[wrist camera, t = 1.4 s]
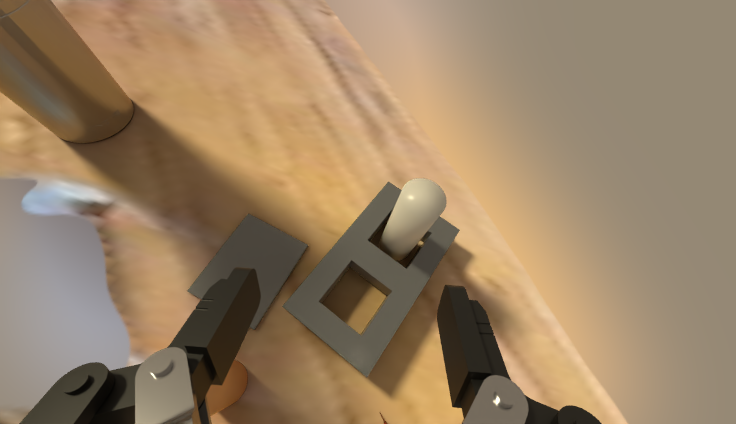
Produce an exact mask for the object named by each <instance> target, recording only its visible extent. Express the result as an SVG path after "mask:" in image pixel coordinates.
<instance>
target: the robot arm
mask: <svg viewBox="0 0 736 424" xmlns="http://www.w3.org/2000/svg"><path fill="white" fill-rule="evenodd" d="M0 92H1V93H3V94H4V95H5V96H7V97H8V98H9V99H10V100H12V101H13V102H14V103H16V104H17V105H18V106H20V107H21V108H22V109H23V110H25V111H26V112H27V113H28V114H30V115H31V116H32V117H34V118H35V119H36V120H37V121H39V122H40V123H41V124H43V125H44V126H45V127H46V128H48V129H49V130H50V131H52V132H53V133H54V134H55V135H57V136H58V137H60V138H62V139H64V140H66V141H70V142H75V143H89V142H95V141H100V140H103V139H105V138H108V137H110V136H112V135H114V134H116V133H118V132H119V131H120V130H122V129H123V128H124V127H125V126H126V125H127V124H128V123H129V121H130V120H131V118H132V115H133V112H134V106H133V103H132V101H131V100H130V98H129V97H128V96H127V95H126V93H125V92H124V91H123V90H122V88H121V87H120V86H119V85H118V83H117V82H116V81H115V80H114V78H113V77H112V76H111V74H110V73H109V72H108V71H107V70H106V68H105V67H104V66H103V65H102V63H101V62H100V61H99V60H98V58H97V57H96V56H95V55H94V53H93V52H92V51H91V50H90V48H89V47H88V46H87V45H86V44H85V42H84V41H83V40H82V39H81V37H80V36H79V35H78V34H77V32H76V31H75V30H74V29H73V27H72V26H71V25H70V24H69V22H68V21H67V20H66V19H65V18H64V16H63V15H62V14H61V13H60V11H59V10H58V9H57V8H56V6H55V5H54V4H53V3H52V1H51V0H0ZM260 299H261V292H260V287H259V283H258V278H257V273H256V270H255V269H253V268H241V267H236V268H234V269H233V271H232V272H231V274H230V275H229V277H228V278H227V279H220V280H219V281H217V282H216V283H215V284H214V285H212V286H211V287H210V288H209V289H208V291H207V292H206V294H205V295H204V296H203V298H202V301H200V302H199V304H198V305H197V306H196V309H195V310H194V311H193V312H192V314H191V315H190V317H189V318H188V319H187V321H186V322H185V324H184V325H183V327H182V328H181V330H180V331H179V332H178V334H177V335H176V337H175V338H174V340H173V341H172V342H171V344H170V345H169V346H168V347H167V348H165V349H162V350H160V351H158V352H156V353H154V354H152V355H151V356H150V357H148V358H147V359H146V360H145V361H144V362H143V363H142V364H138V365H134V366H129V367H125V368H120V369H116V370H111V371H109V370H108V368H107V367H106V366H105V365H104V364H102V363H97V362H96V363H88V364H85V365H82V366H79V367H77V368H75V369H73V370H71V371H70V372H68V373H67V374H65V375H64V376H63V377H61V378H60V379H59V380H58V381H57V382H56V383H55V384H54V385H53V386H52V387H51V389H50V390H49V391H48V392H47V393H46V394H45V395H44V396H43V398H42V399H41V400H40V401H39V403H38V404H37V405H36V406H35V407H34V408H33V409H32V410H31V411H30V412H29V413H28V415H27V416H26V417H25V418H24V419H23V420H22V421H21V423H20V424H212V422H211V417H210V412H209V407H208V401H207V397H206V394H207V392H208V390H209V388H210V386H211V385H223V383H224V380H225V378H226V376H227V374H228V372H229V370H230V368H231V365H232V363H233V361H234V359H235V357H236V355H237V353H238V350H239V348H240V346H241V344H242V342H243V340H244V338H245V335H246V333H247V331H248V329H249V327H250V325H251V322H252V320H253V318H254V316H255V314H256V312H257V310H258V307H259V304H260ZM437 321H438V328H439V334H440V339H441V345H442V351H443V356H444V362H445V368H446V373H447V379H448V385H449V390H450V396H451V402H452V407H456V408H462V411H463V416H464V420H463V422H462V424H601V423H600V421H599V420H598V419H596V418H595V417H594V416H593V415H592V414H590V413H589V412H587V411H586V410H584V409H582V408H579V407H576V406H565V407H563V408H562V409H560V411H558V410H556V409H553V408H551V407H548V406H546V405H544V404H541V403H539V402H536V401H534V400H532V399H530V398H529V397H527V396H526V395H524V393H523V392H522V390H521V389H520V388H519V387H518V386H517V385H516V384H515V383H514V382H512V381H511V379H510V377H509V375H508V372H507V370H506V367H505V364H504V361H503V358H502V356H501V353H500V350H499V347H498V344H497V342H496V339H495V336H494V335H493V334H494V333H493V330H492V328H491V326H490V322H489V319H488V316H487V314H486V311H485V310H484V309H483V307H482V306H481V305H480V304H479V303H478V301H475V300H469V298H468V295H467V292H466V289H465V287H464V286H452V285H445V287H444V290H443V293H442V297H441V300H440V304H439V307H438V313H437Z"/></svg>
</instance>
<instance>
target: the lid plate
mask: <svg viewBox="0 0 736 424" xmlns="http://www.w3.org/2000/svg"><path fill="white" fill-rule="evenodd" d="M307 247H308V245H307V244H305V243H303V242H301V241H299V240H297V239H296V238H294V237H292V236H290V235H288V234H286V233H284V232H282V231H280V230H279V229H277V228H275V227H273V226H271V225H269V224H267V223H265V222H264V221H262V220H260V219H258V218H256V217H254V216H252V215H250V214H248V215H247V216H246V217H245V218H244V220H243V221H242V222H241V223H240V225H239V226H238V227H237V229H236V230H235V231H234V232H233V234H232V235H231V236H230V237H229V239H228V240H227V241H226V242H225V244H224V245H223V246H222V248H221V249H220V250H219V251H218V253H217V254H216V255H215V256H214V258H213V259H212V260H211V261H210V263H209V264H208V265H207V267H206V268H205V269H204V270H203V272H202V273H201V274H200V275H199V277H198V278H197V279H196V280H195V282H194V283H193V284H192V286H191V287H190V288H189V289H188V292H189V293H191V294H193V295H195V296H196V297H198V298H200V299H202V298H203V296H204V295H205V294H206V292H207V291H208V289H209V288H210V287H211V286H212V285H214V284H215V283H216V282H217V281H219V280H220V279H227V278H228V277H229V275H230V274H231V272H232V271H233V269H234V268H236V267H241V268H253V269H255V270H256V273H257V278H258V283H259V287H260V292H261V299H260V304H259V307H258V310H257V312H256V314H255V316H254V318H253V320H252V322H251V325H250V328H252V329H254V330H255V329H256V327H257V326H258V324H259V323H260V321H261V320H262V318H263V316H264V315H265V313H266V312H267V310H268V309H269V307H270V305H271V304H272V302H273V301H274V299H275V298H276V296H277V294H278V293H279V291H280V290H281V288H282V287H283V285H284V283H285V282H286V280H287V279H288V277H289V276H290V274H291V272H292V271H293V269H294V268H295V266H296V265H297V263H298V262H299V260H300V258H301V257H302V255H303V254H304V252H305V251H306V249H307Z"/></svg>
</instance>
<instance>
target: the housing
mask: <svg viewBox="0 0 736 424" xmlns="http://www.w3.org/2000/svg"><path fill="white" fill-rule="evenodd" d="M445 207H446V196H445V193H444V191H443V190H442V188H441V187H440V186H439V185H438V184H436V183H435V182H433V181H431V180H428V179H425V178H416V179H413V180H410V181H409V182H407V183H406V184H405V185H404V187H403V189H402V190H400V189H399V188H397V187H396V186H394V185H393V184H391V183H390V182H388V183H387V184H386V185H385V186H384V188H383V189H382V190H381V191H380V192H379V193H378V195H377V196H376V197H375V198H374V199H373V200H372V202H371V203H370V204H369V205H368V206H367V208H366V209H365V210H364V211H363V212H362V213H361V215H360V216H359V217H358V218H357V219H356V220H355V222H354V223H353V224H352V225H351V226H350V227H349V229H348V230H347V231H346V232H345V233H344V235H343V236H342V237H341V238H340V239H339V240H338V242H337V243H336V244H335V245H334V246H333V247H332V249H331V250H330V251H329V252H328V253H327V255H326V256H325V257H324V258H323V259H322V260H321V262H320V263H319V264H318V265H317V266H316V267H315V269H314V270H313V271H312V272H311V273H310V274H309V276H308V277H307V278H306V279H305V280H304V282H303V283H302V284H301V285H300V286H299V287H298V289H297V290H296V291H295V292H294V293H293V294H292V296H291V297H290V298H289V299H288V300H287V302H286V303H285V304H284V305H283V307H284V308H285V309H286V310H287V311H288V312H290V313H291V314H292V315H293V316H294V317H296V318H297V319H298V320H299V321H300V322H302V323H303V324H304V325H305V326H306V327H307V328H309V329H310V330H311V331H312V332H313V333H315V334H316V335H317V336H318V337H319V338H321V339H322V340H323V341H324V342H325V343H327V344H328V345H329V346H330V347H331V348H332V349H334V350H335V351H336V352H337V353H338V354H340V355H341V356H342V357H343V358H344V359H346V360H347V361H348V362H349V363H350V364H352V365H353V366H354V367H355V368H356V369H357V370H359V371H360V372H361V373H362V374H363V375H365V376H366V377H368V375H369V374H370V372H371V370H372V369H373V367H374V366H375V364H376V362H377V361H378V359H379V358H380V356H381V355H382V353H383V351H384V350H385V348H386V347H387V345H388V343H389V342H390V340H391V339H392V337H393V335H394V334H395V332H396V331H397V329H398V328H399V326H400V324H401V323H402V321H403V320H404V318H405V316H406V315H407V313H408V312H409V310H410V308H411V307H412V305H413V304H414V302H415V300H416V299H417V297H418V296H419V294H420V293H421V291H422V289H423V288H424V286H425V285H426V283H427V281H428V280H429V278H430V277H431V275H432V273H433V272H434V270H435V269H436V267H437V266H438V264H439V262H440V261H441V259H442V258H443V256H444V254H445V253H446V251H447V250H448V248H449V246H450V245H451V243H452V242H453V240H454V239H455V237H456V235H457V234H458V232H459V231H460V230H459V229H457V228H456V227H454V226H453V225H451V224H450V223H449V222H447V221H446V220H444V219H443V218H441V217H440V215H441V214H442V212H443V211H444V209H445ZM388 218H389V220H388ZM387 220H388V222H387V225H386V227H385V229H384V232H383V234H382V236H381V238H380V241H379V248H380V249H379V248H378V247H376V246H375V245H373V244H372V243H371V242H370V241H371V240H372V239H373V237H374V236H375V235H376V234H377V232H378V231H379V230H380V228H381V227H382V226H383V225H384V223H385V222H386V221H387ZM420 240H422V241H423V242H424V243H423V244H422V246H421V247H420V249H419V250H418V252H417V253H416V254H415V256H414V257H413V259H412V260H411V262H410V263H409V265H408V266H407V268H405V267H403V266H402V265H401V264H399V263H398V262H397V261H399V260H402V259H404V258H405V257H407V255H408V254H409V253H410V252H411V250H412V249H413V248H414V247H415V246H416V244H417V243H418V242H419V241H420ZM349 268H351V269H353V270H354V271H355V272H357V273H358V274H359V275H361V276H362V277H363V278H365V279H366V280H367V281H368V282H370V283H371V284H372V285H374V286H375V287H376V288H378V289H379V290H380V291H381V292H383V293H384V294H385V295H387V297H386V298H385V300H384V301H383V303H382V304H381V306H380V307H379V309H378V310H377V312H376V313H375V314H374V316H373V317H372V319H371V320H370V322H369V323H368V325H367V326H366V328H365V329H364V331H363V332H362V333H361V335H360V334H358V333H357V332H356V331H355V330H353V329H352V328H351V327H350V326H348V325H347V324H346V323H345V322H344V321H342V320H341V319H340V318H339V317H337V316H336V315H335V314H334V313H332V312H331V311H330V310H329V309H328V308H326V307H325V306H324V305H323V304H321V303H322V302H323V301H324V300H325V298H326V297H327V296H328V294H329V293H330V292H331V291H332V289H333V288H334V287H335V286H336V284H337V283H338V282H339V280H340V279H341V278H342V277H343V275H344V274H345V273H346V272H347V270H348V269H349Z"/></svg>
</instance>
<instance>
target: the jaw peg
mask: <svg viewBox="0 0 736 424" xmlns="http://www.w3.org/2000/svg"><path fill="white" fill-rule="evenodd" d="M247 381H248V376H247V371H246V369H245V367H244V366H243V365H242V364H241V363H240V362H238V361H236V360H234V361H233V363H232V365H231V368H230V370H229V372H228V374H227V376H226V378H225V380H224V383H223V385H211V386H210V388H209V390H208V392H207V394H206V397H207V401H208V407H209V412H210V416H212V415H214V414H216V413H217V412H219V411H221V410H223V409H224V408H226V407H228V406H230V405H232V404H233V403H235V402H236V401H237V400H238V399H239V398H240V397H241V396H242V395H243V393H244V391H245V389H246V386H247Z"/></svg>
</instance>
